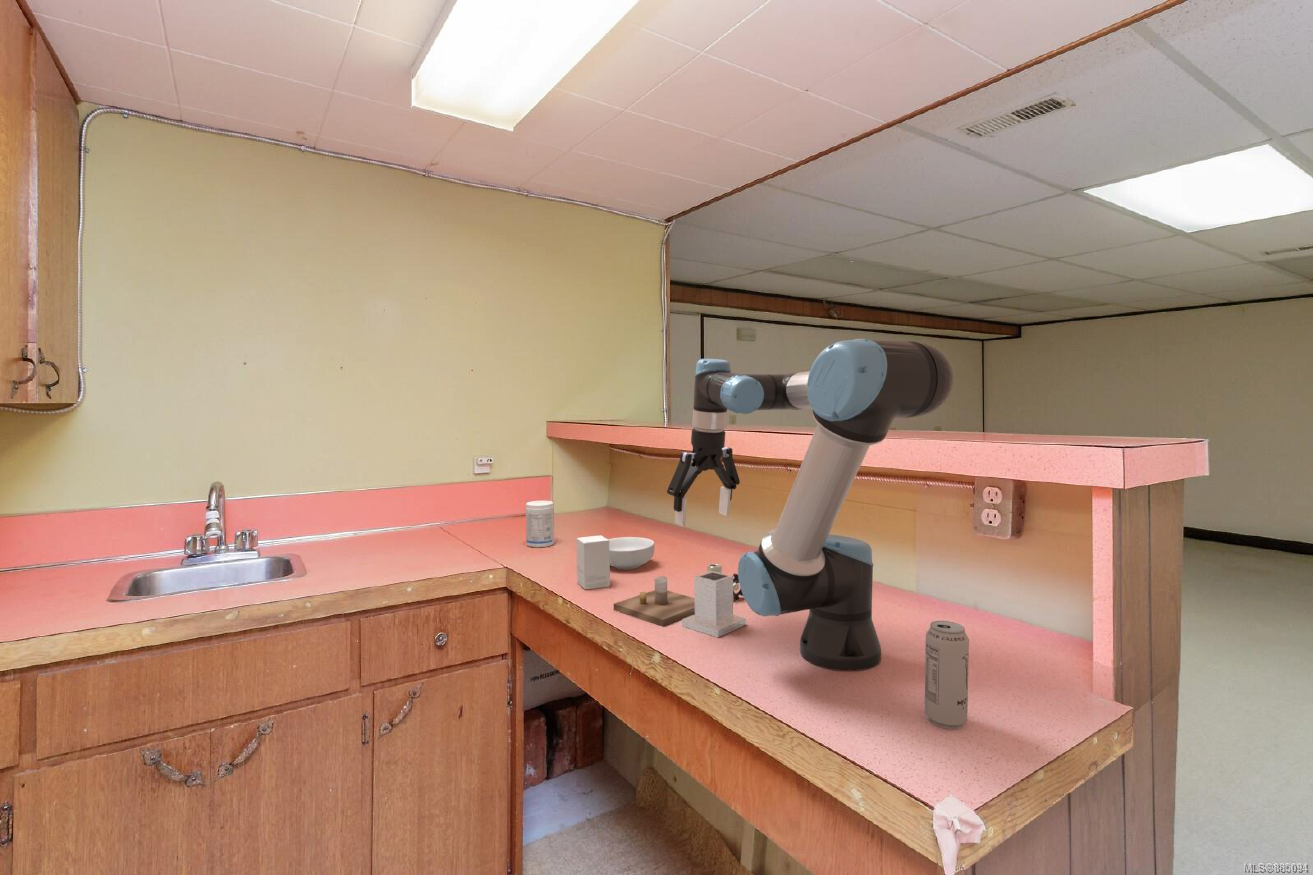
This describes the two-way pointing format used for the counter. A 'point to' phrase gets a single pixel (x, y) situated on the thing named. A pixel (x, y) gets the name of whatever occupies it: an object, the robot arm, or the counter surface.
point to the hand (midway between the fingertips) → (702, 519)
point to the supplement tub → (540, 523)
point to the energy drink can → (946, 674)
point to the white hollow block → (714, 605)
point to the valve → (736, 580)
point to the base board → (658, 605)
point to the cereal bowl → (630, 552)
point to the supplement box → (593, 562)
